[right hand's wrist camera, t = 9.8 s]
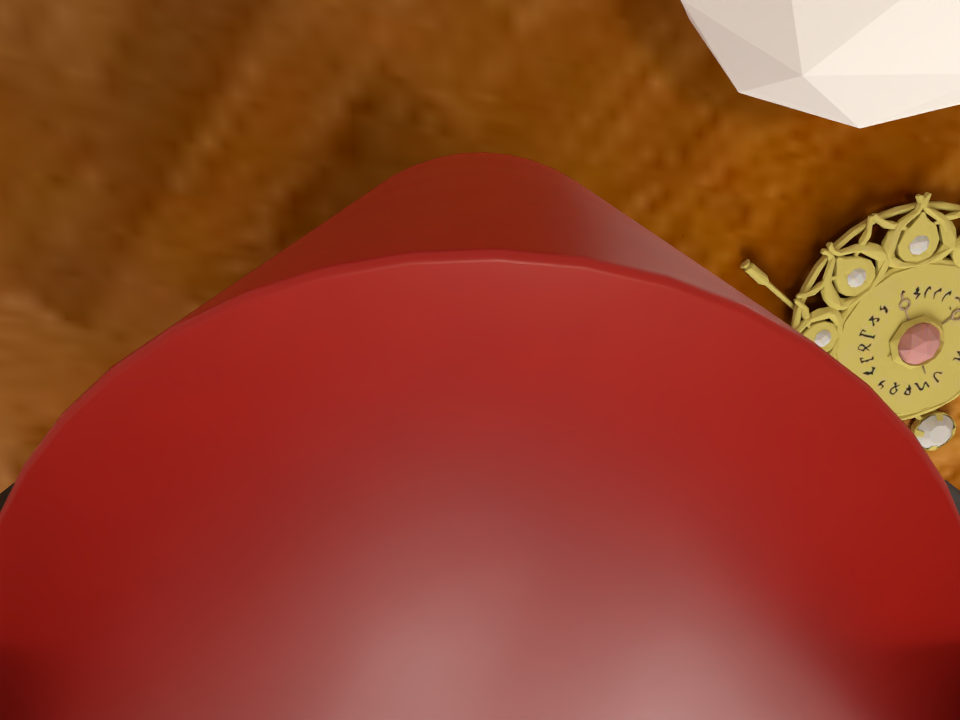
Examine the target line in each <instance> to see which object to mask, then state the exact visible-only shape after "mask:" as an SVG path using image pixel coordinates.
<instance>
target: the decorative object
mask: <svg viewBox="0 0 960 720" xmlns="http://www.w3.org/2000/svg"><path fill="white" fill-rule="evenodd" d="M930 197H931V193H928V192H926V193H925V194H924V195H923V196H922V195H921V194H916V196H915V198H916V201H917V202H914V203H910V204H906V205H901V206H897V207H893V208H890V209H888V210H885V211H882V212H880V213H877V214H876V213H872V214H871V215H870V216H868V218H867V219H865V220H864V221H862V222H860V223H859V224H857V225H856V226H854V227H852V228H851V229H849V230H848V231H847V232H846V233H845V234H844V235H842V236H841V237H840V238H839V239H838V240H837V241H836V242H834V243H832V242H827V244H826V247H827V249H821V251H820V253H821V254H823V255H822V257H821V258H820V259H819V260H818V261H817V263H816V264H815V265H814V267H813V268H812V270H811V272H810V273H809V275H808V277H807V278H806V280H805V282H804V283H803V285H802V287H801V290H800V293H798V294H796V296H795V297H796V299H793V300H794V303H795V304H794V303H793V302H792V301H790V300H789V299H788V298H787V297H786V296H785V295H784V294H783V293H782V292H780V291H779V290H778V289H777V288H776V287H775V286H774V285H773V284H771V283H770V282H769V280H768V276H767V275H766V274H765V273H764V272H763V271H761V270H760V269H759V268H758V267H757V266H756V265H754V264H753V263H750V260H749V259H747V260H745V261H744V262H743V263H742V264H741V268H745V269H744V271H745V272H747V273H748V274H749V275H750V276H751V277H752V278H753V279H754V280H755V281H756V282H757V283H758V284H762V285H765V286H767V287H768V288H769V289H770V290H771V291H772V292H773V293H774V294H776V295H777V296H778V297H779V298H780V299H781V300H782V301H783V302H785V303H786V304H787V305H788V306H789V307H790V308H791V309H793V316H792V322H791V327H793V328H794V329H795V330H797V331H798V332H800V333H801V334H803V335H804V336H806V337H807V338H809V339H810V340H812V341H813V342H814V343H816V344H817V345H818V346H820V347H821V348H822V349H823V350H825V351H826V352H827V353H829V354H830V355H831V356H832V357H834V358H835V359H836V360H838V361H839V362H840V363H841V364H843V365H844V366H845V367H847V368H848V369H849V370H851V371H852V372H853V373H854V374H856V375H857V376H858V377H860V378H861V379H862V380H863V381H865V382H866V383H867V384H869V385H870V387H871V388H872V389H873V390H874V391H875V392H876V393H877V394H878V395H879V396H880V397H881V398H882V399H883V401H884V402H885V403H886V404H887V405H888V406H889V407H890V408H891V409H892V410H893V411H894V412H895V413H896V415H897V416H898V417H899V418H900V419H901V420H905V419H910V418H914V417H915V418H916V420H915V421H914V422H913V424H912V425H911V431H912V432H913V433H914V434H915V436H916V437H917V439H918V441H919V442H920V444H921V445H922V447H923V448H924V449H925V450H928V451H929V450H936V449H938V448H939V447H941V446H942V445H944V444H945V443H947V442H948V441H949V440H950V439H951V437H952V436H953V435H954V434H955V430H956V424H955V422H954V420H953V419H952V418H951V417H950V416H949V415H947V414H945V413H944V412H941V411H936V409H938V408H939V407H941V406H943V405H945V404H947V403H948V402H950V401H952V400H954V399H955V398H956V397H958V396H959V395H960V235H959V236H958V237H956V228H955V226H954V224H953V222H952V221H950V220H953V219H957V218H960V205H958V204H953V203H948V202H943V201H929V199H930ZM936 209H940V210H945V211H950V212H951V213H948V214H946V215H944V214H943V213H941V212H939V211H937V210H936ZM922 210H923V211H924V212H922ZM908 212H910V213H908ZM903 213H908V214H907V215H905V216H904V217H902V218H901V219H899V220H898V222H897V223H896V222H894V221H888V220H884V219H887V218H890V217H892V216H895V215H898V214H903ZM926 213H927V214H928V215H930V216H931V217H932V218H934V219H935V220H936V221H934V222H931V221H930V220H929V219H928V217H927V216H926ZM875 223H877V224H879V225H880V226H881V227H883V228H886V229H890V230H889V231H888V232H887V234H886V235H885V237H884V239H883V241H882V242H881V246H880V245H878V244H875V243H871V242H868V240H869V238H870V237H871V232H872V226H873V224H875ZM937 224H938V225H939V234H940V244H939V246H938V248H937V245H938V242H939V235H938V231H937V227H936V225H937ZM905 226H906V227H905ZM864 230H865V231H864ZM862 231H864V233H863V234H862V236H861V237H860V239H859V242H858V244H854V245H851V246H849V247H846V248H843V249H841V250H839V249H840V248H841V247H843V246H844V245H845V244H846V243H847V242H848V241H850V240H851V239H852V238H853V237H854V236H855V235H857V234H859V233H860V232H862ZM936 248H937V249H936ZM860 252H861V253H863V254H865V255H867V256H869V257H871V258H873V259H875V262H876V269H875V267H874V265H873V263H872V261H871V260H869V259H867V258H864V257H861V256H858V255H859V253H860ZM851 253H854V254H853V255H852V256H847V257H845V256H843V255H847V254H851ZM948 254H950V257H951V258H946V256H947V255H948ZM834 255H836V257H835V256H834ZM895 255H896V256H897V258H896V257H895ZM826 264H827V266H826V269H825V273H824V275H823V279H822V281H820V282H818V283H817V284H816V285H815V286H814V287H812V285H813V284H814V282H815V280H816V278H817V277H818V275H819V273H820V272H821V270H822V268H823V267H824V266H825V265H826ZM832 273H833V276H832ZM832 281H833V282H834V286H835V288H834V286H833V284H832ZM811 287H812V288H811ZM835 289H836V290H835ZM820 290H821V295H822V298H823V300H824V301H825V302H826V304H827V305H828V306H829V307H824V308H819V309H816V310H815V311H813V312H811V313H810V314H809V308H808V307H807V306H806V305H805V301H806V299H807V297H809V296H812V295H815V294H816V293H817V292H819V291H820ZM837 292H839V293H840V294H842V295H845V296H850V297H848V298H840V297H839V295H838V293H837ZM838 310H840V312H839V311H838ZM801 317H802V318H803V320H802V321H801V322H800V320H801ZM828 318H829V319H830V320H831V321H832V322H833V323H832V322H829V321H825V320H824V319H828ZM816 321H817V322H816ZM805 327H806V328H805ZM804 328H805V329H804Z"/></svg>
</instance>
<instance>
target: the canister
mask: <svg viewBox="0 0 960 720" xmlns="http://www.w3.org/2000/svg"><path fill="white" fill-rule="evenodd" d="M0 720H960V515H959V513H958V510H957V508H956V505H955V503H954V501H953V498H952V496H951V493H950V491H949V488H948V486H947V484H946V482H945V481H944V479H943V478H942V476H941V475H940V473H939V471H938V470H937V468H936V467H935V465H934V464H933V462H932V461H931V459H930V458H929V456H928V454H927V453H926V451H925V450H924V448H923V447H922V445H921V444H920V442H919V441H918V439H917V437H916V436H915V434H914V433H913V432H912V431H911V430H910V429H909V427H908V426H907V425H906V424H905V423H904V422H903V421H902V420H901V419H900V418H899V417H898V416H897V415H896V413H895V412H894V411H893V410H892V409H891V408H890V407H889V406H888V405H887V404H886V403H885V402H884V401H883V399H882V398H881V397H880V396H879V395H878V394H877V393H876V392H875V391H874V390H873V389H872V388H871V387H870V385H869V384H867V383H866V382H865V381H863V380H862V379H861V378H860V377H858V376H857V375H856V374H854V373H853V372H852V371H851V370H849V369H848V368H847V367H845V366H844V365H843V364H841V363H840V362H839V361H838V360H836V359H835V358H834V357H832V356H831V355H830V354H829V353H827V352H826V351H825V350H823V349H822V348H821V347H820V346H818V345H817V344H816V343H814V342H813V341H812V340H810V339H809V338H807V337H806V336H804V335H803V334H801V333H800V332H798V331H797V330H795V329H794V328H793V327H791V326H790V325H788V324H787V323H785V322H784V321H782V320H781V319H779V318H778V317H776V316H775V315H773V314H772V313H770V312H769V311H767V310H766V309H764V308H763V307H761V306H760V305H758V304H757V303H755V302H754V301H753V300H751V299H750V298H748V297H747V296H745V295H744V294H742V293H741V292H739V291H738V290H736V289H735V288H733V287H732V286H730V285H729V284H727V283H726V282H724V281H723V280H721V279H720V278H718V277H717V276H715V275H714V274H713V273H711V272H710V271H708V270H707V269H705V268H704V267H702V266H701V265H699V264H698V263H696V262H695V261H693V260H692V259H690V258H689V257H687V256H686V255H684V254H683V253H681V252H680V251H678V250H677V249H675V248H674V247H673V246H671V245H670V244H668V243H667V242H665V241H664V240H662V239H661V238H659V237H658V236H656V235H655V234H653V233H652V232H650V231H649V230H647V229H646V228H644V227H643V226H641V225H640V224H638V223H637V222H635V221H634V220H633V219H631V218H630V217H628V216H627V215H625V214H624V213H622V212H621V211H619V210H618V209H616V208H615V207H613V206H612V205H610V204H609V203H607V202H606V201H604V200H603V199H601V198H600V197H598V196H597V195H595V194H594V193H593V192H591V191H590V190H588V189H587V188H585V187H584V186H582V185H581V184H579V183H578V182H576V181H575V180H573V179H571V178H569V177H568V176H566V175H564V174H562V173H560V172H559V171H557V170H555V169H553V168H550V167H548V166H545V165H543V164H540V163H538V162H535V161H532V160H528V159H524V158H520V157H516V156H512V155H506V154H495V153H485V152H484V153H460V154H455V155H449V156H444V157H438V158H435V159H432V160H428V161H425V162H422V163H419V164H416V165H414V166H411V167H409V168H407V169H405V170H403V171H401V172H399V173H397V174H395V175H393V176H392V177H390V178H389V179H387V180H386V181H384V182H383V183H381V184H380V185H378V186H377V187H375V188H374V189H372V190H371V191H369V192H368V193H367V194H365V195H364V196H362V197H361V198H359V199H358V200H356V201H355V202H353V203H352V204H350V205H349V206H347V207H346V208H344V209H343V210H342V211H340V212H339V213H337V214H336V215H334V216H333V217H331V218H330V219H328V220H327V221H325V222H324V223H322V224H321V225H319V226H318V227H316V228H315V229H314V230H312V231H311V232H309V233H308V234H306V235H305V236H303V237H302V238H300V239H299V240H297V241H296V242H294V243H293V244H291V245H290V246H289V247H287V248H286V249H284V250H283V251H281V252H280V253H278V254H277V255H275V256H274V257H272V258H271V259H269V260H268V261H266V262H265V263H264V264H262V265H261V266H259V267H258V268H256V269H255V270H253V271H252V272H250V273H249V274H247V275H246V276H244V277H243V278H241V279H240V280H239V281H237V282H236V283H234V284H233V285H231V286H230V287H228V288H227V289H225V290H224V291H222V292H221V293H219V294H218V295H216V296H215V297H214V298H212V299H211V300H209V301H208V302H206V303H205V304H203V305H202V306H200V307H199V308H197V309H196V310H194V311H193V312H191V313H190V314H188V315H187V316H186V317H184V318H183V319H181V320H180V321H178V322H177V323H175V324H174V325H172V326H171V327H169V328H168V329H166V330H165V331H163V332H162V333H161V334H159V335H158V336H156V337H155V338H153V339H152V340H150V341H149V342H147V343H146V344H144V345H143V346H141V347H140V348H138V349H137V350H136V351H134V352H133V353H131V354H130V355H128V356H127V357H125V358H124V359H122V360H121V361H119V362H118V363H116V364H115V365H113V366H112V367H111V368H110V369H109V370H108V371H107V372H106V373H105V374H104V375H103V376H101V377H100V378H99V379H98V380H97V381H96V382H95V383H94V384H93V385H92V386H91V387H90V388H89V389H88V390H87V391H86V392H84V393H83V394H82V395H81V396H80V397H79V398H78V399H77V400H76V401H75V402H74V403H73V404H72V405H71V406H70V407H69V408H68V409H66V410H65V411H64V412H63V413H62V415H61V416H60V417H59V419H58V420H57V421H56V423H55V424H54V425H53V427H52V428H51V429H50V431H49V432H48V433H47V435H46V436H45V437H44V439H43V440H42V441H41V443H40V444H39V445H38V447H37V448H36V449H35V450H34V452H33V453H32V454H31V456H30V457H29V458H28V460H27V461H26V462H25V464H24V466H23V468H22V470H21V472H20V474H19V476H18V478H17V480H16V482H15V484H14V486H13V488H12V490H11V492H10V494H9V496H8V498H7V500H6V502H5V504H4V506H3V508H2V510H1V512H0Z"/></svg>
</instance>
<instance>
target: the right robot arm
mask: <svg viewBox="0 0 960 720" xmlns="http://www.w3.org/2000/svg"><path fill="white" fill-rule="evenodd" d="M944 481H945V482H946V484H947V486H948V488H949V491H950V493H951V496H952V498H953V501H954V503H955V505H956V508H957V510H958V513H959V515H960V491H959V490H958V489H957V488H955V487H954V486H953V485H951V484H950V483H949V482H948V481H946V480H944ZM14 484H15V483H13V484H12V485H11V486H10V487H8V488H7V489H6V490H4V491H3V492H2V493H1V494H0V512H1V510H2V508H3V506H4V504H5V502H6V500H7V498H8V496H9V494H10V492H11V490H12V488H13V486H14Z"/></svg>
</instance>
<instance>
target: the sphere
mask: <svg viewBox="0 0 960 720" xmlns="http://www.w3.org/2000/svg"><path fill="white" fill-rule="evenodd" d="M681 2H682V4H683V7H684V9H685V11H686V13H687V15H688V18H689V19H690V21H691V22H692V24H693V25H694V27H695V28H696V30H697V31H698V33H699V34H700V36H701V37H702V39H703V40H704V42H705V43H706V45H707V46H708V48H709V49H710V51H711V52H712V54H713V55H714V57H715V58H716V60H717V61H718V62H719V64H720V65H721V67H722V68H723V70H724V71H725V73H726V74H727V76H728V77H729V79H730V80H731V82H732V83H733V85H734V86H735V88H736V89H737V91H738V92H739V93H742V94H745V95H749V96H752V97H756V98H759V99H762V100H766V101H769V102H773V103H776V104H779V105H783V106H786V107H789V108H793V109H796V110H800V111H803V112H806V113H810V114H813V115H817V116H820V117H823V118H827V119H830V120H833V121H837V122H840V123H844V124H847V125H850V126H854V127H857V128H863V127H867V126H871V125H875V124H880V123H884V122H888V121H892V120H896V119H900V118H905V117H909V116H913V115H917V114H921V113H925V112H929V111H934V110H938V109H942V108H946V107H950V106H954V105H958V104H960V0H681Z"/></svg>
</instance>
